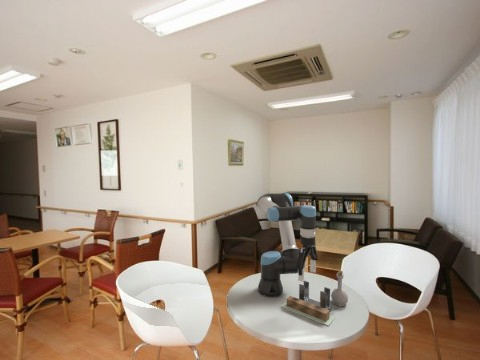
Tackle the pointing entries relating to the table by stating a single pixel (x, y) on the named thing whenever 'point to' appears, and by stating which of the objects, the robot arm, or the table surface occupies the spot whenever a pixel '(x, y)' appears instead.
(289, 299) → the rail
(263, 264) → the robot arm
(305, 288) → the rack
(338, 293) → the potion bottle
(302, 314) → the mat
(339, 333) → the table surface
